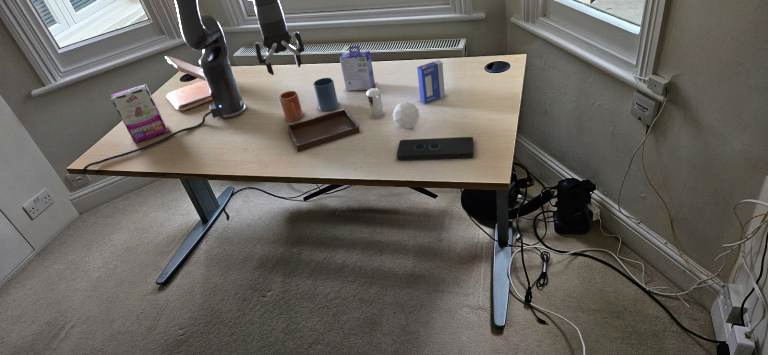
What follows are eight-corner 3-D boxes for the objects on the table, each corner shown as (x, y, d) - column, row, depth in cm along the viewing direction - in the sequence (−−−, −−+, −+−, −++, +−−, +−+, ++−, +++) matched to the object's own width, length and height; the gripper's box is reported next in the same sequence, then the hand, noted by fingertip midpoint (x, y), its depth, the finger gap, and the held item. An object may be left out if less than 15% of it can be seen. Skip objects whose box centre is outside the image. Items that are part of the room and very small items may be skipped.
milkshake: (388, 111, 148) (383, 82, 143) (381, 120, 145) (376, 90, 139) (375, 110, 150) (370, 82, 145) (368, 118, 146) (362, 89, 141)
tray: (298, 152, 136) (296, 146, 135) (289, 131, 147) (287, 125, 146) (360, 132, 140) (358, 126, 139) (346, 114, 151) (345, 108, 150)
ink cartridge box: (375, 83, 168) (369, 43, 160) (372, 89, 164) (365, 50, 155) (349, 84, 170) (341, 45, 162) (345, 91, 166) (337, 51, 158)
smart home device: (400, 139, 130) (473, 135, 126) (400, 144, 131) (473, 141, 127) (396, 155, 124) (473, 152, 120) (397, 161, 125) (473, 158, 121)
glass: (322, 113, 154) (315, 88, 149) (317, 105, 160) (311, 81, 154) (340, 107, 156) (335, 82, 151) (335, 100, 161) (330, 76, 156)
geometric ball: (402, 133, 141) (389, 110, 141) (425, 121, 140) (413, 97, 140) (398, 134, 134) (385, 109, 134) (423, 121, 132) (410, 96, 132)
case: (233, 93, 179) (218, 53, 170) (178, 113, 171) (160, 72, 162) (216, 79, 194) (202, 41, 185) (165, 97, 185) (148, 59, 176)
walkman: (425, 104, 149) (421, 68, 142) (420, 101, 151) (416, 66, 144) (445, 96, 151) (443, 61, 145) (441, 93, 154) (438, 58, 147)
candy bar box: (166, 126, 163) (146, 83, 154) (168, 132, 159) (147, 87, 150) (133, 137, 160) (110, 94, 150) (134, 143, 156) (110, 99, 147)
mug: (284, 115, 157) (277, 94, 152) (301, 110, 158) (295, 89, 154) (288, 126, 150) (282, 103, 146) (306, 120, 151) (300, 98, 147)
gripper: (291, 9, 141) (304, 60, 150) (244, 21, 137) (261, 73, 146) (297, 14, 135) (310, 67, 144) (248, 27, 131) (265, 80, 140)
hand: (285, 70), depth 145 cm, fingers open, 8 cm apart
